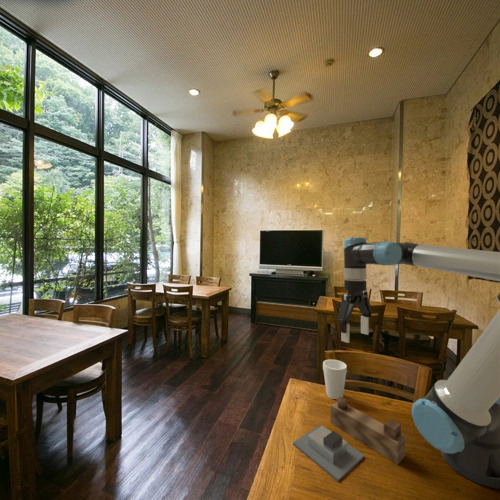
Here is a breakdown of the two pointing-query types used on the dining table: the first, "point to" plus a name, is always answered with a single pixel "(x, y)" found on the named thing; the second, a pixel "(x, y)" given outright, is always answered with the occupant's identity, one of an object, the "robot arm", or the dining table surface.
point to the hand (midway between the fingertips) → (355, 337)
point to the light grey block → (327, 444)
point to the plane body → (370, 430)
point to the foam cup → (334, 377)
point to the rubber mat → (334, 469)
